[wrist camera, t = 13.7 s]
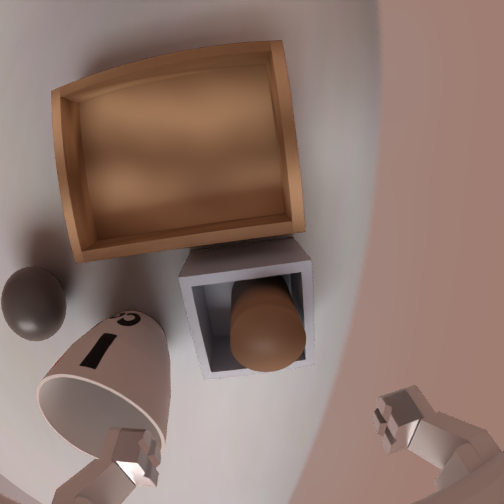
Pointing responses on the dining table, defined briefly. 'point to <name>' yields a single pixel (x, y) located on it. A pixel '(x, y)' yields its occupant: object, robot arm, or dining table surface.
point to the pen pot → (219, 298)
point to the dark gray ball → (33, 303)
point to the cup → (110, 383)
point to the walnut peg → (265, 324)
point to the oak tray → (178, 152)
